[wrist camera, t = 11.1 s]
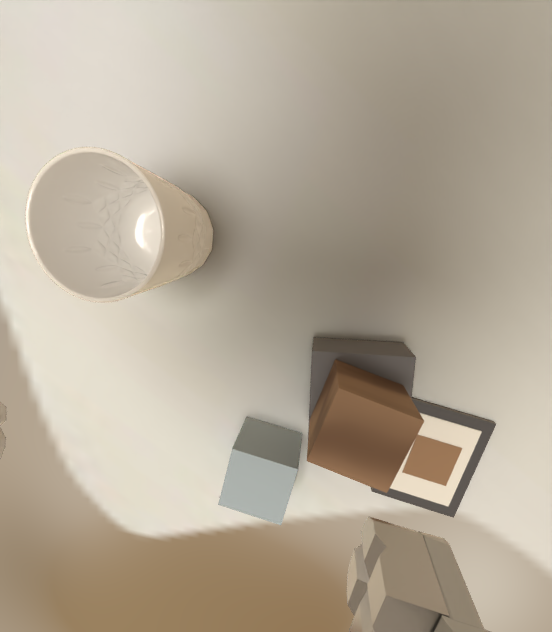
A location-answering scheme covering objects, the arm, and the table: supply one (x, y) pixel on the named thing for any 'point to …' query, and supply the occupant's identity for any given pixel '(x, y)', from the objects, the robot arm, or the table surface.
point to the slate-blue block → (262, 470)
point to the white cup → (112, 226)
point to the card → (441, 459)
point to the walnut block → (362, 426)
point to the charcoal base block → (360, 362)
